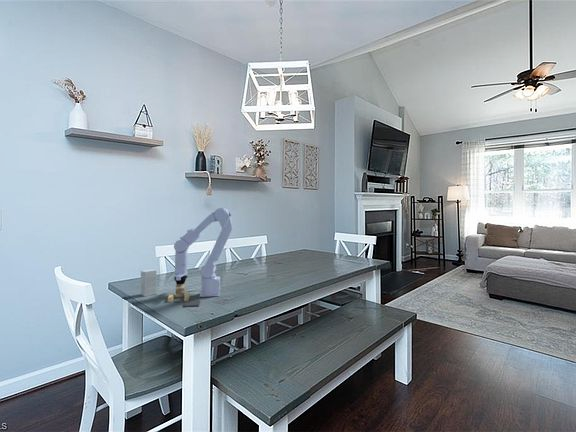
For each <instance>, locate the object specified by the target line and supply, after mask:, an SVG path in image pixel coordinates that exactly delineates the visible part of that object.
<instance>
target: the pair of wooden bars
mask: <svg viewBox="0 0 576 432" xmlns="http://www.w3.org/2000/svg"><path fill="white" fill-rule="evenodd" d="M190 294H191V293H190V292H186V293H185V294H184V297H183V300H184V301H183V302H186V301H190V297H191V296H190ZM174 299H175V293H170V294H169V295H168V297H167V303H172V302H173V300H174Z"/></svg>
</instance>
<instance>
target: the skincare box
mask: <svg viewBox="0 0 576 432" xmlns="http://www.w3.org/2000/svg"><path fill="white" fill-rule="evenodd" d="M157 282H158V281H157V269H154V268H150V269H146V270H145V269H144V270H141V271H140V295H141V296H143V297H148V296H152V295H157V294H158V292H157V290H158V289H157Z"/></svg>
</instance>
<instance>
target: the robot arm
mask: <svg viewBox="0 0 576 432" xmlns="http://www.w3.org/2000/svg"><path fill="white" fill-rule="evenodd" d="M215 222H218V223H219V225H220V227H221V230H220V232H219V235H218V237H217V239H216V242H215V243H214V246H213V248H212V250H211V252H210V255H209V257H208V259H207V260H206V262H205V264H204V265H203V266H202V267H201V268H200V293H199V298H200V297H202V298H205V297H206V298H207V297H220V294H221V290H222V289H221V276H217V275H216V271H217V265H218V261H219V259H220V258H221V255H222V253H223V250H224V248H225V245H226V244H227V242H228V240H229V237H230V235H231V233H232V230H233V228H234V227H233V220H232V214H231V212H230V210H229V209H228V208H226V207H219V208H217V209H215V210H214V211H213V212H211V213H210V214H209V215H207V216H206V218H204V219H203V220H202V221H201V222H200V223H199V225H197V226H196V227H195V228H190V229H188V230H186V233H185V234H183V235H182V236H180V237H179V239H178V240H176V241H175V243H174V244H173V249H174V250H175V251H174V252H175V255H174V271H173V272H172V275H174V279H173V280H174V281H175V283H176V284H185V283H186V280H187V278H188V250H189V247H190V246H192V245H193V244H194V243H195V242H196V241H197V240H198V239H199V238H200V236H201V233H202V232H203V231H204V230H205V229H206V228H208V226H210V225H211V224H212V223H215ZM176 284H175V285H176ZM185 285H186V284H185Z"/></svg>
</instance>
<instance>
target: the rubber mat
mask: <svg viewBox="0 0 576 432" xmlns="http://www.w3.org/2000/svg"><path fill="white" fill-rule="evenodd" d="M200 304H201V299H200V300H199V299H198V300H188V301H184V304H183V308H188V307H189V308H193V307H194V308H195V307H200Z"/></svg>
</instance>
